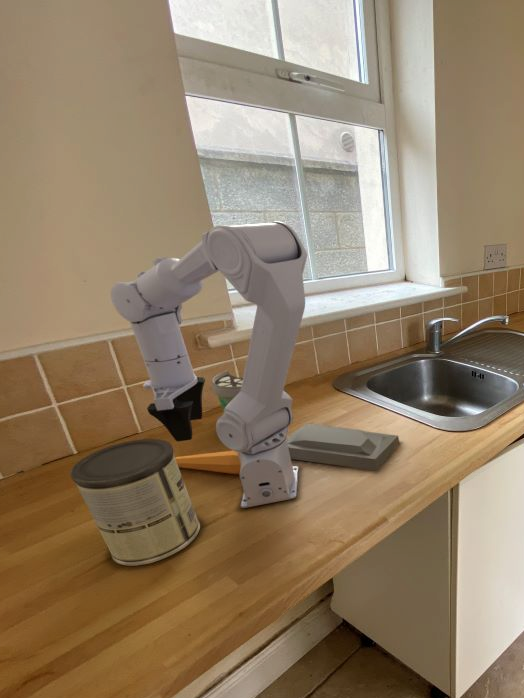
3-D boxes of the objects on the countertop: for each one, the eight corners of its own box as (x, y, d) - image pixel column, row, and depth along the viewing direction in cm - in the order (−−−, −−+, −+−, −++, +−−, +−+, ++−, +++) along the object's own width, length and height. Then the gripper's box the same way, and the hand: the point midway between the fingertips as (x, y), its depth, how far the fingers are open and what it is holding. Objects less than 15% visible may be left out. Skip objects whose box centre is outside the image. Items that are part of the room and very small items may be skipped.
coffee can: (103, 541, 64) (62, 459, 58) (187, 507, 72) (159, 430, 65) (121, 579, 58) (78, 492, 52) (211, 538, 66) (183, 457, 60)
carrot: (259, 472, 82) (258, 447, 82) (241, 477, 77) (240, 451, 77) (161, 471, 84) (159, 447, 84) (137, 476, 79) (136, 451, 79)
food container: (209, 421, 96) (196, 379, 92) (237, 410, 101) (226, 369, 97) (244, 437, 91) (232, 393, 87) (272, 425, 96) (262, 382, 92)
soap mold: (376, 470, 83) (374, 454, 81) (276, 456, 85) (273, 440, 83) (399, 442, 92) (398, 427, 90) (308, 430, 94) (305, 416, 92)
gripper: (149, 343, 76) (173, 413, 82) (117, 375, 65) (148, 454, 70) (198, 340, 79) (218, 408, 85) (176, 369, 67) (201, 446, 73)
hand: (189, 429), depth 78 cm, fingers open, 7 cm apart
